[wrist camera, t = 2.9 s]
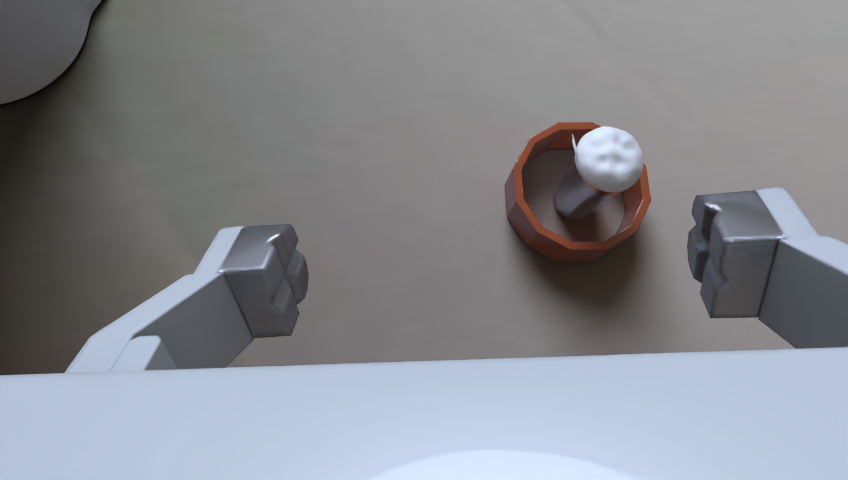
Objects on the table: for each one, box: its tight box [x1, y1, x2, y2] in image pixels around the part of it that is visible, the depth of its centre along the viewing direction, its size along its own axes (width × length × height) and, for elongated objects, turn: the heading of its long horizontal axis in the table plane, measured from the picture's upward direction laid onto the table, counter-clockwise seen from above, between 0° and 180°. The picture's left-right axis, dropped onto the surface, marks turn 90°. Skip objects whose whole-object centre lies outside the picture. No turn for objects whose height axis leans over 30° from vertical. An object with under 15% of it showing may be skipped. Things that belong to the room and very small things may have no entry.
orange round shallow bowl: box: [505, 122, 651, 262], centre depth 46 cm, size 10×10×4 cm
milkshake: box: [554, 127, 643, 221], centre depth 42 cm, size 4×5×10 cm
